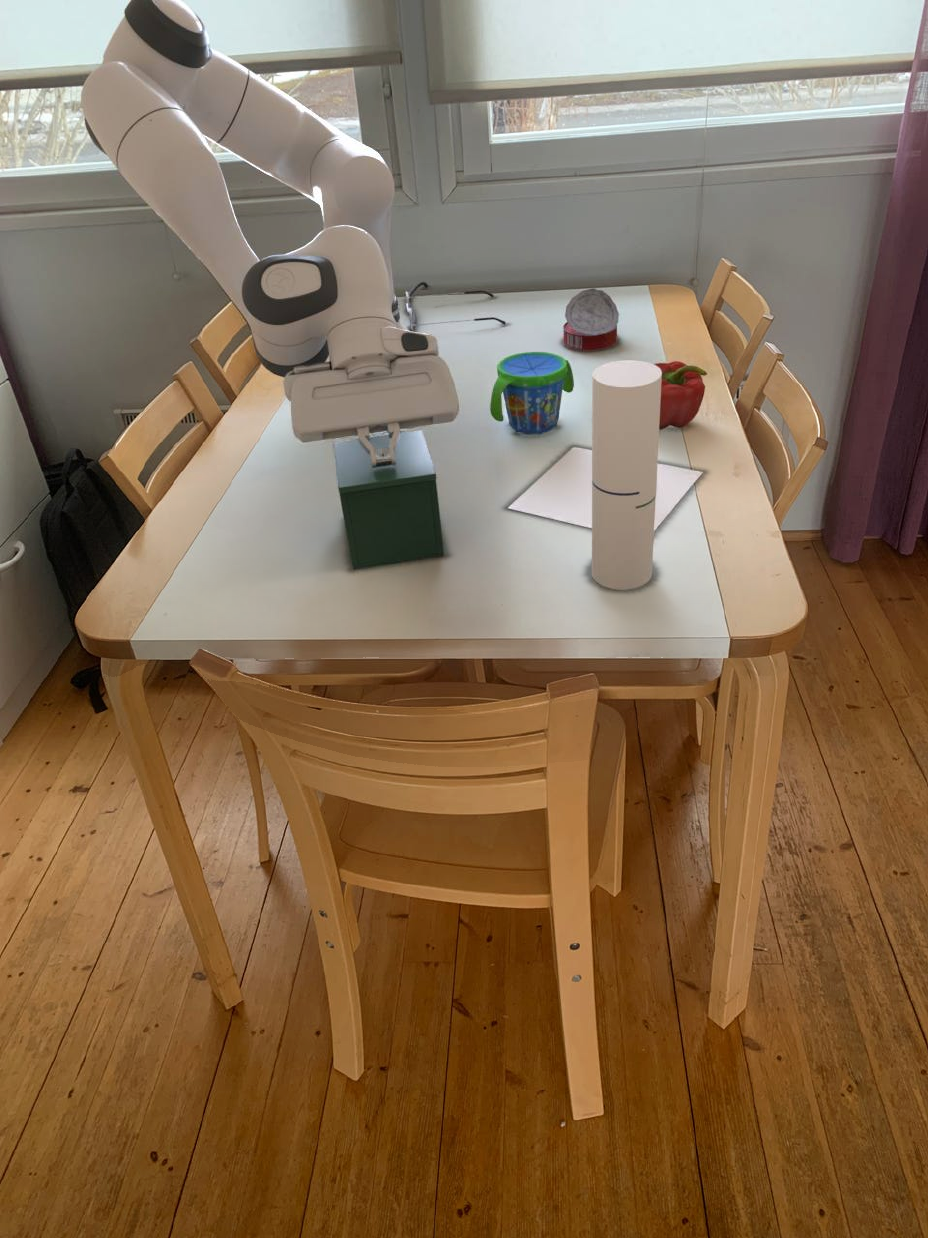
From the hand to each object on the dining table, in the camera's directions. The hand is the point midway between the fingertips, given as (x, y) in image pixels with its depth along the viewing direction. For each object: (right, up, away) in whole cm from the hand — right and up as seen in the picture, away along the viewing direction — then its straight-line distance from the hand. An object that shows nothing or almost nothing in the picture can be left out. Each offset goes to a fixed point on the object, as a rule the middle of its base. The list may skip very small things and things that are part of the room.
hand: (384, 464), depth 112 cm
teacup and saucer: (+29, -1, +17) cm, 34 cm away
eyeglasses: (+8, +43, +79) cm, 90 cm away
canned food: (+33, +33, +62) cm, 77 cm away
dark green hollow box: (0, -8, +11) cm, 13 cm away
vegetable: (+41, +11, +31) cm, 53 cm away
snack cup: (+21, +12, +35) cm, 42 cm away
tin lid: (0, +1, +4) cm, 4 cm away
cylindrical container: (+29, -13, 0) cm, 31 cm away
